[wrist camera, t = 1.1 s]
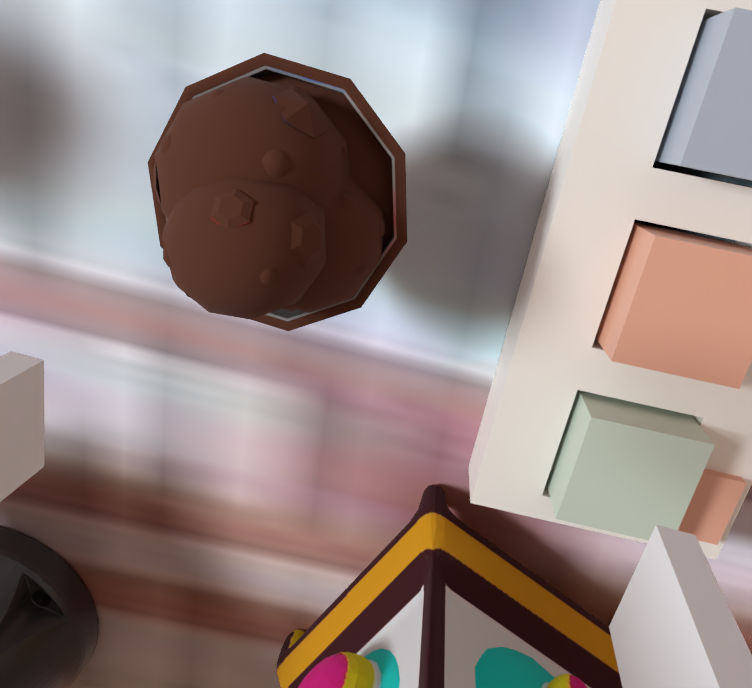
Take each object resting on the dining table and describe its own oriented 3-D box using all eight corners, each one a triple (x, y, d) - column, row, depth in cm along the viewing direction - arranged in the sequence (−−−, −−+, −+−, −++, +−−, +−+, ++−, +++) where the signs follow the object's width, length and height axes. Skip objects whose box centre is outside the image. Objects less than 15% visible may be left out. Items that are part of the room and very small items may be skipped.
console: (690, 517, 39) (720, 566, 34) (468, 466, 39) (470, 509, 35) (905, 30, 29) (983, 14, 25) (608, -28, 30) (634, -53, 25)
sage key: (645, 496, 36) (671, 545, 32) (544, 473, 37) (555, 518, 32) (682, 405, 34) (715, 444, 30) (574, 381, 35) (591, 417, 30)
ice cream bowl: (448, 239, 35) (446, 318, 21) (268, 300, 37) (157, 408, 23) (383, 42, 32) (330, -21, 18) (193, 123, 34) (13, 122, 20)
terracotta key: (702, 355, 33) (739, 389, 29) (591, 331, 34) (611, 361, 29) (747, 245, 31) (793, 264, 27) (627, 220, 31) (655, 235, 27)
